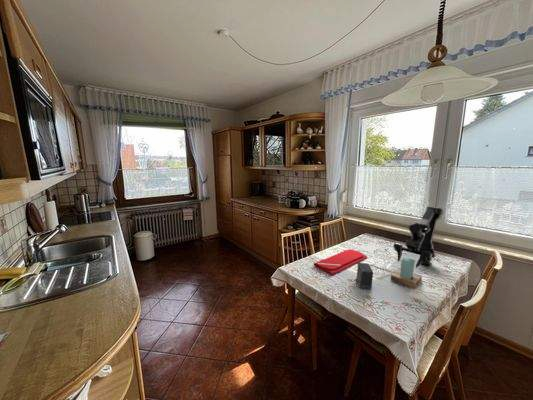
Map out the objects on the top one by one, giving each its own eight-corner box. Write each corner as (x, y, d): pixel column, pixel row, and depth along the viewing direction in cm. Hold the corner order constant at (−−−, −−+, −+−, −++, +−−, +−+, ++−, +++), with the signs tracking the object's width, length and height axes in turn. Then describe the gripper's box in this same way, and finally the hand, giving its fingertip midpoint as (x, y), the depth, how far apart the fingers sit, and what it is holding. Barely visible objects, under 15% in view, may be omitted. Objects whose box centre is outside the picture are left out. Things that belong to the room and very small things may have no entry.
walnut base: (398, 273, 138) (399, 268, 137) (421, 281, 129) (421, 276, 128) (390, 279, 130) (391, 275, 130) (413, 288, 121) (414, 283, 121)
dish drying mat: (367, 258, 159) (368, 253, 158) (332, 277, 135) (332, 271, 134) (348, 251, 171) (348, 246, 171) (312, 267, 147) (312, 262, 147)
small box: (372, 289, 121) (374, 272, 119) (359, 288, 122) (361, 271, 120) (367, 279, 131) (369, 263, 129) (356, 278, 132) (357, 262, 130)
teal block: (403, 272, 132) (405, 257, 130) (412, 276, 128) (414, 260, 127) (400, 275, 129) (401, 259, 127) (409, 279, 125) (411, 262, 124)
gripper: (396, 230, 134) (386, 252, 129) (433, 238, 120) (424, 263, 115) (400, 239, 140) (390, 260, 135) (435, 248, 126) (427, 272, 121)
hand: (406, 264), depth 127 cm, fingers open, 9 cm apart
